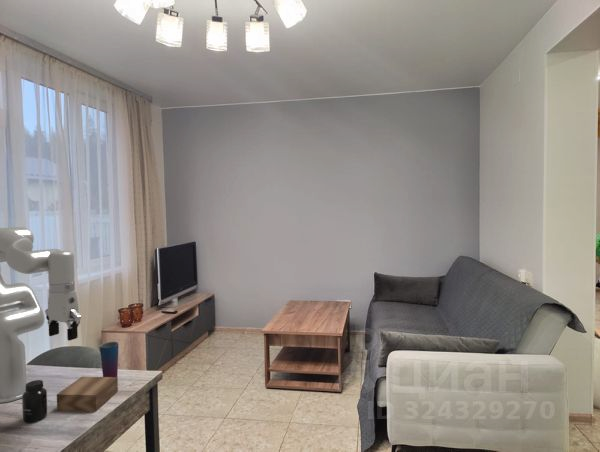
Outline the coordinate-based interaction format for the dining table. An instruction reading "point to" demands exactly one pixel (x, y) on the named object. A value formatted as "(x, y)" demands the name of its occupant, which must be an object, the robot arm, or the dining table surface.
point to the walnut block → (87, 394)
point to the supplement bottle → (34, 402)
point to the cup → (109, 359)
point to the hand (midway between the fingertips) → (63, 337)
